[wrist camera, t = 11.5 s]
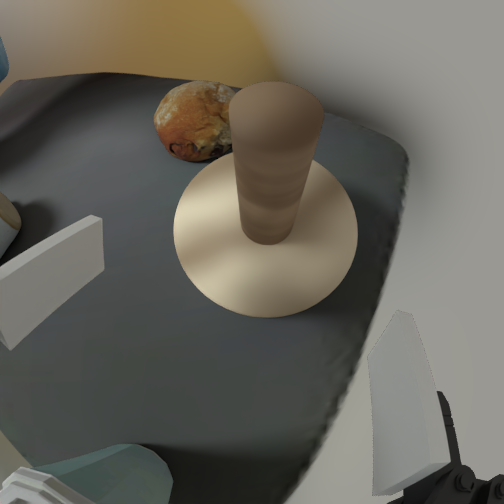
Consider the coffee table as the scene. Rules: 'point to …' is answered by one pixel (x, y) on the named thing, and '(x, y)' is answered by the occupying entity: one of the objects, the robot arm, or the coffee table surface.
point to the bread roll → (195, 120)
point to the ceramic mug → (8, 223)
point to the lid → (267, 210)
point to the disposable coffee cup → (94, 479)
